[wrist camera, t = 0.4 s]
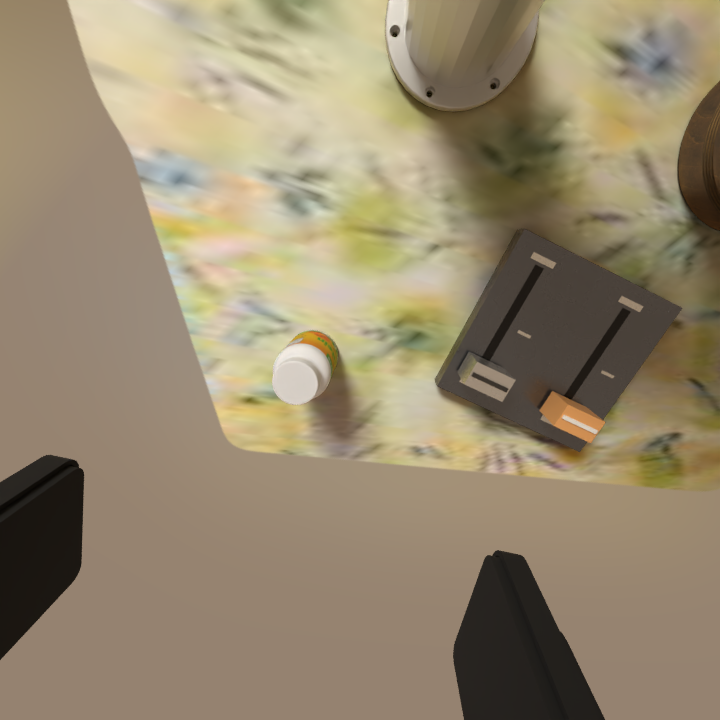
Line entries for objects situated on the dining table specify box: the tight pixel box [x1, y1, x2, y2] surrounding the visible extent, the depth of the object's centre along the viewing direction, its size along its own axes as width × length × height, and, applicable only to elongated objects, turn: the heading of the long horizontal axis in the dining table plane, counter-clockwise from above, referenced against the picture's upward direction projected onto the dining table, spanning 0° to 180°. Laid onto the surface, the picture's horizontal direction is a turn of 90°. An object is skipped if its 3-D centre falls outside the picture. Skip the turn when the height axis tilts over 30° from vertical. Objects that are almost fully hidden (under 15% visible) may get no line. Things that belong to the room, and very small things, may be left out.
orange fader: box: [540, 391, 605, 443], centre depth 39 cm, size 2×4×4 cm, turn 65°
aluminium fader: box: [457, 352, 516, 402], centre depth 38 cm, size 2×4×4 cm, turn 65°
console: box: [435, 229, 682, 452], centre depth 41 cm, size 17×17×2 cm
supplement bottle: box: [272, 330, 338, 405], centre depth 39 cm, size 5×5×10 cm
